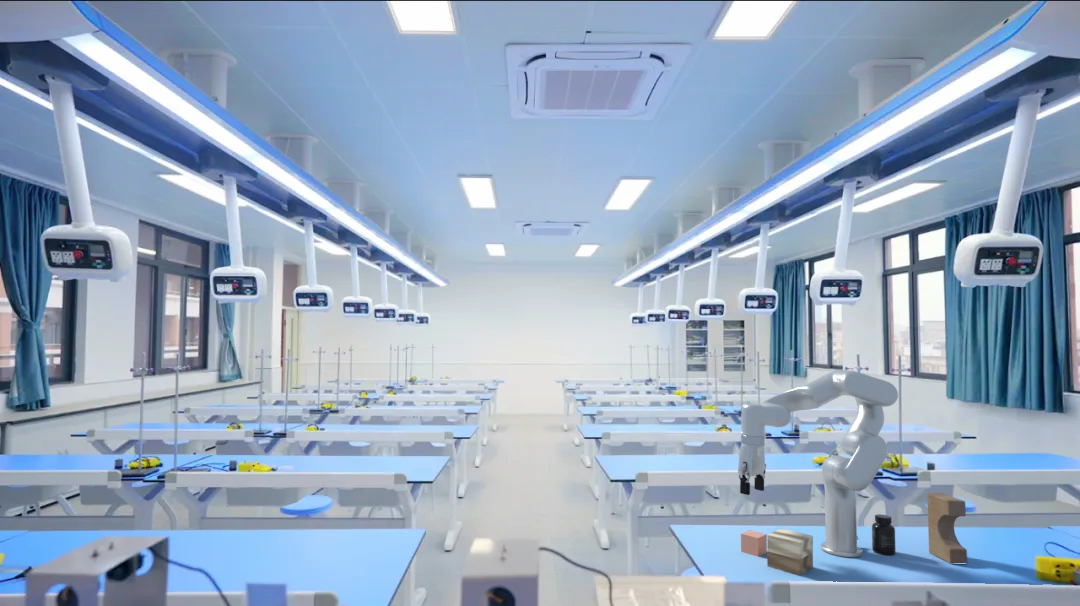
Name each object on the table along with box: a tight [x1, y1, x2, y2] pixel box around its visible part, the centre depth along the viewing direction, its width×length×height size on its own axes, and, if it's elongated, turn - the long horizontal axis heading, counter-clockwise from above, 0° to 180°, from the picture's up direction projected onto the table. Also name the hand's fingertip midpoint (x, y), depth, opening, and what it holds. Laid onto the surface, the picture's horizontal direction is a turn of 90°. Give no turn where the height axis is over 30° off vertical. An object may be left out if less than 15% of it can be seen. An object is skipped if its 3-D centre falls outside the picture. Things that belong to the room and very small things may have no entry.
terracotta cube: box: [740, 529, 768, 557], centre depth 200 cm, size 6×6×6 cm
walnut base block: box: [766, 550, 814, 576], centre depth 187 cm, size 10×10×5 cm
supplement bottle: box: [871, 513, 897, 557], centre depth 202 cm, size 7×7×12 cm
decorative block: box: [927, 492, 968, 564], centre depth 198 cm, size 11×6×20 cm, turn 0°
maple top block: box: [767, 528, 814, 560], centre depth 187 cm, size 10×10×5 cm
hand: (752, 492), depth 201 cm, fingers open, 9 cm apart
